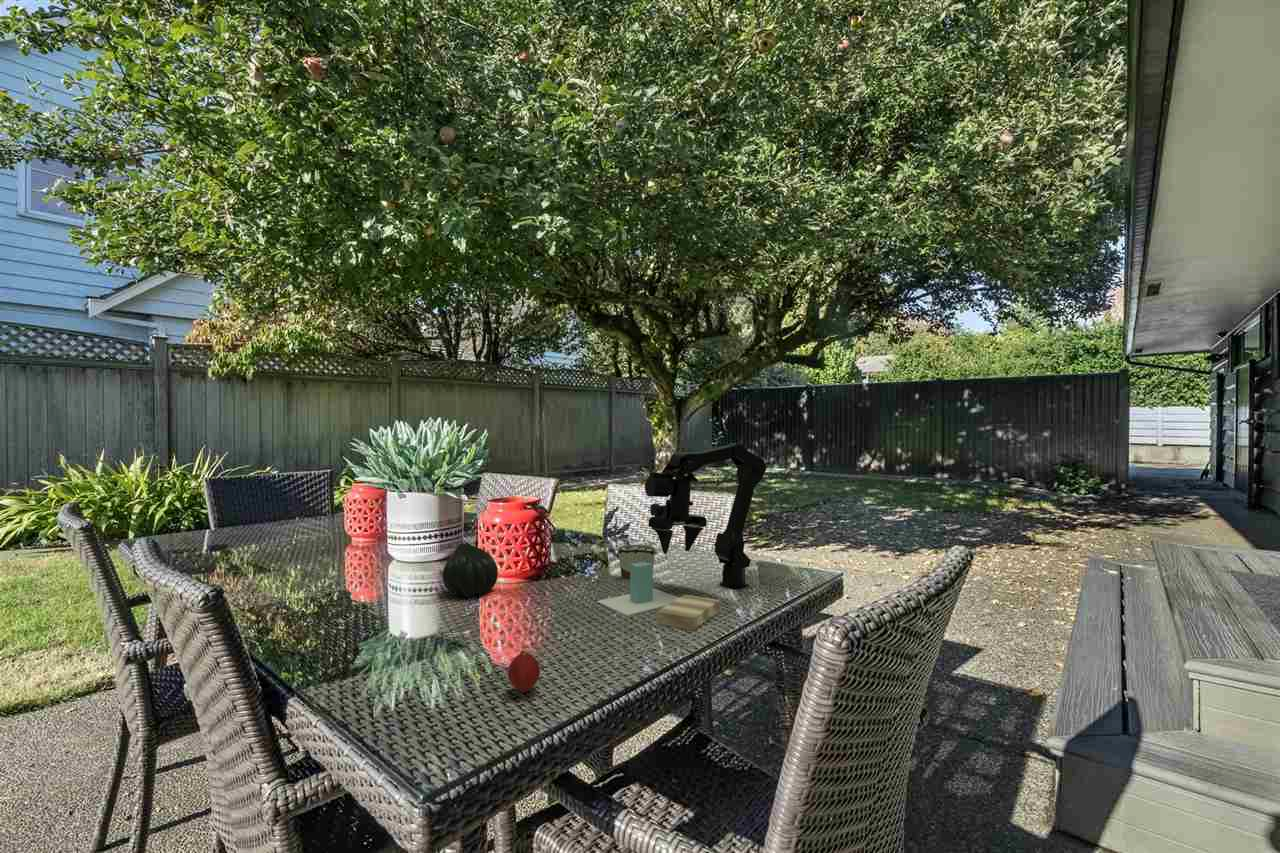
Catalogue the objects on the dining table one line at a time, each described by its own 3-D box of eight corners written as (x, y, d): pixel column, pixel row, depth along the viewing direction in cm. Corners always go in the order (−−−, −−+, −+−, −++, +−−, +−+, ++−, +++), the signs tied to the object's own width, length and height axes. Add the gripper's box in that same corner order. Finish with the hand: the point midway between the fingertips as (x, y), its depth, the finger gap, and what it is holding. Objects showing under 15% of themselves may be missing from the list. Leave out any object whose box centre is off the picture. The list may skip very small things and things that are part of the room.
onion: (510, 685, 115) (510, 643, 115) (541, 684, 116) (540, 642, 116) (506, 699, 110) (506, 655, 109) (538, 698, 110) (538, 654, 110)
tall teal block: (645, 597, 169) (645, 561, 169) (652, 600, 166) (652, 564, 166) (630, 600, 166) (630, 564, 166) (636, 603, 163) (636, 566, 163)
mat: (653, 589, 178) (653, 588, 178) (686, 601, 167) (686, 600, 167) (596, 602, 166) (596, 601, 166) (627, 616, 155) (627, 614, 155)
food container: (657, 575, 193) (658, 544, 193) (656, 581, 187) (656, 548, 187) (619, 574, 194) (619, 543, 194) (616, 580, 188) (616, 547, 188)
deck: (684, 605, 163) (684, 594, 163) (719, 611, 159) (719, 600, 158) (656, 623, 149) (656, 611, 149) (694, 630, 145) (694, 618, 144)
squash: (511, 576, 172) (491, 531, 179) (463, 588, 162) (443, 541, 168) (493, 600, 180) (474, 557, 187) (445, 614, 170) (427, 568, 176)
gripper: (681, 493, 185) (677, 544, 184) (636, 494, 172) (632, 549, 172) (709, 497, 177) (705, 551, 176) (665, 499, 164) (660, 557, 164)
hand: (676, 552), depth 172 cm, fingers open, 9 cm apart
